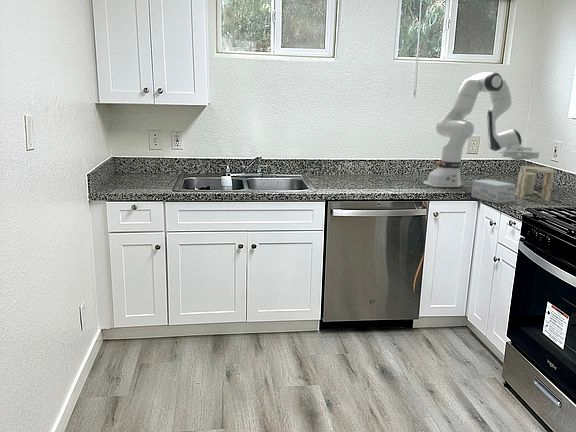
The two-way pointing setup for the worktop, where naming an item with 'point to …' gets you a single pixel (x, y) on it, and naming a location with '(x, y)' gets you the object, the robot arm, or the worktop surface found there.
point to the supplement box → (493, 190)
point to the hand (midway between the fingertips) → (523, 155)
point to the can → (528, 183)
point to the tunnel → (546, 185)
